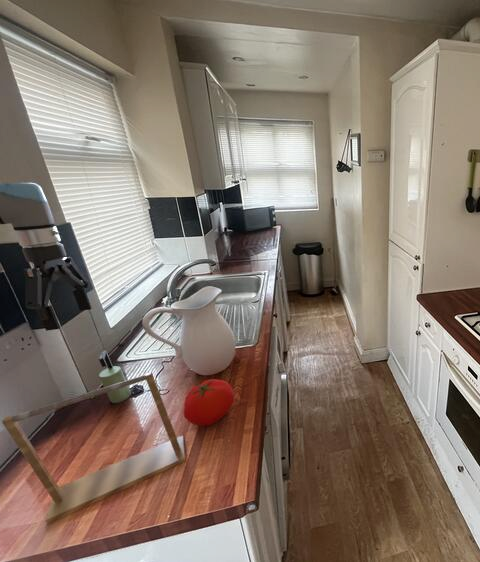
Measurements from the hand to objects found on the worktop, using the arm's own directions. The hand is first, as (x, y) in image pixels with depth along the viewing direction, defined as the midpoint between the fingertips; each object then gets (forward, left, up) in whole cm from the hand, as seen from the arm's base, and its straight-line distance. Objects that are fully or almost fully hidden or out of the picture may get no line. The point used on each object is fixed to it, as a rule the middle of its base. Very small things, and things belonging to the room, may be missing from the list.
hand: (70, 319), depth 86 cm
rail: (+7, -36, -28) cm, 47 cm away
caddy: (+4, -3, -28) cm, 29 cm away
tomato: (+27, -28, -28) cm, 49 cm away
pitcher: (+27, -3, -28) cm, 40 cm away
